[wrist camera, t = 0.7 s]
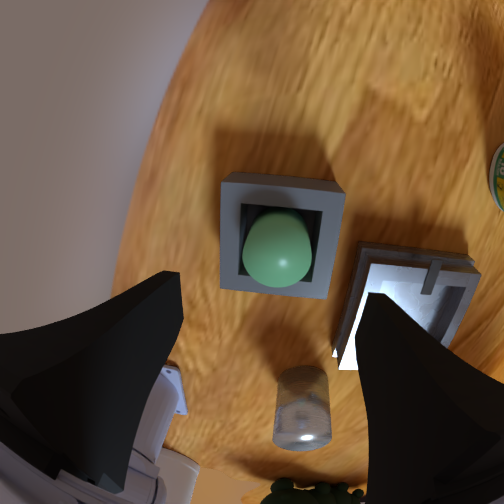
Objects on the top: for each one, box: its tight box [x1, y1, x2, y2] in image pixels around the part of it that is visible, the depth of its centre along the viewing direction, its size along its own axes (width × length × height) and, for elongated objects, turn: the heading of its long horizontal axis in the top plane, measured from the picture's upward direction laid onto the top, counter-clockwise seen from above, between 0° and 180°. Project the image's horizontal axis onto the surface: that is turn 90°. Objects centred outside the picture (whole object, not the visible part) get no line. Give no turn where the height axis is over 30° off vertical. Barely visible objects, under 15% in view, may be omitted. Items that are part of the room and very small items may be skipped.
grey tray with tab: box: [332, 241, 481, 370], centre depth 17 cm, size 9×10×3 cm
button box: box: [220, 172, 346, 299], centre depth 16 cm, size 6×6×3 cm
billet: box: [273, 366, 332, 451], centre depth 20 cm, size 4×4×6 cm
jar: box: [155, 447, 200, 504], centre depth 29 cm, size 12×10×15 cm
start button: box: [242, 206, 312, 288], centre depth 15 cm, size 3×3×3 cm
